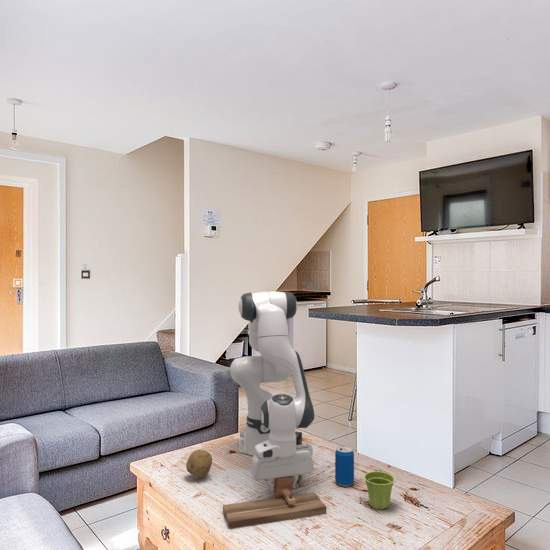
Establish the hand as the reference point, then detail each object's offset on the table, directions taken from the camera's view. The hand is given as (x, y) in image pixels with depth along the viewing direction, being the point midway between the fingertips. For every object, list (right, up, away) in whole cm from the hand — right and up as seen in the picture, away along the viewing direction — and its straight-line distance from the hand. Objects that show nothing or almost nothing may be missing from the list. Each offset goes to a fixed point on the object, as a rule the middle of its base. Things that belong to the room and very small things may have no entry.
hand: (282, 489), depth 149 cm
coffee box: (+3, -4, +14) cm, 14 cm away
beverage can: (+22, -4, +12) cm, 25 cm away
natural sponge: (-30, -4, +16) cm, 34 cm away
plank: (-3, -3, -8) cm, 9 cm away
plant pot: (+30, -3, -4) cm, 31 cm away
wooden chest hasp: (+1, -3, -4) cm, 5 cm away
